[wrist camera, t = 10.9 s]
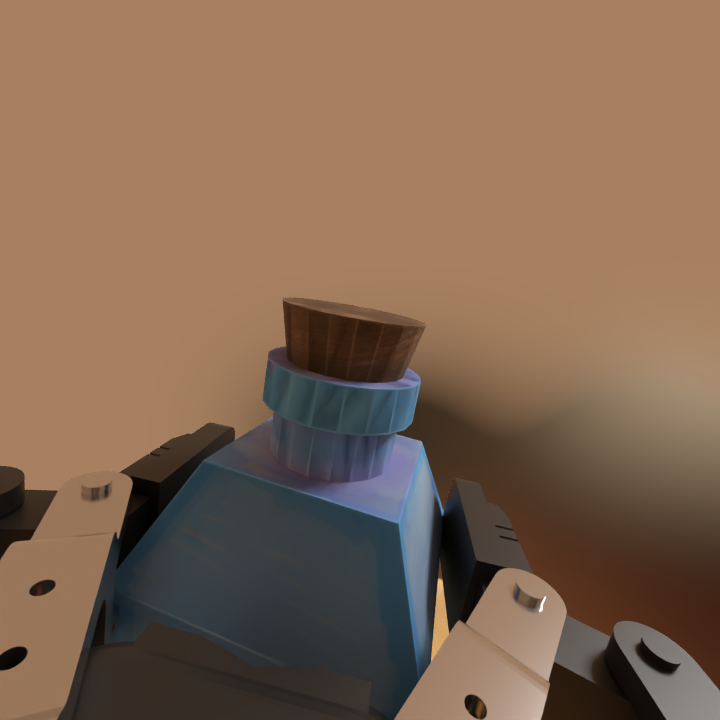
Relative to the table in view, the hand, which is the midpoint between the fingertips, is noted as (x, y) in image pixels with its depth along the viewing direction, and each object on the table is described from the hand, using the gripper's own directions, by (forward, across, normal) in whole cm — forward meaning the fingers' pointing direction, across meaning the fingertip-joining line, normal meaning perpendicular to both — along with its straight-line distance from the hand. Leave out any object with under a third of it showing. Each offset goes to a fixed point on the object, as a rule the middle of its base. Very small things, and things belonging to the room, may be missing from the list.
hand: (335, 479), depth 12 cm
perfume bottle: (-2, 0, +7) cm, 7 cm away
